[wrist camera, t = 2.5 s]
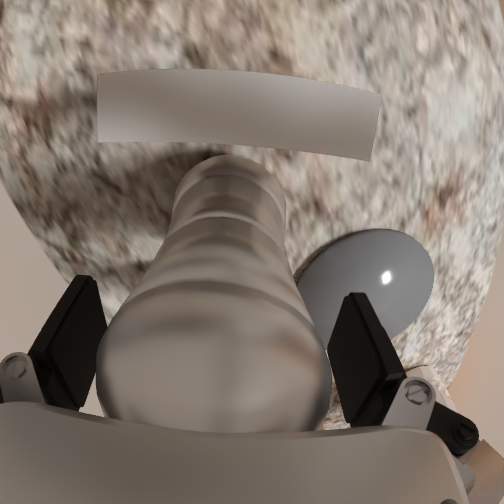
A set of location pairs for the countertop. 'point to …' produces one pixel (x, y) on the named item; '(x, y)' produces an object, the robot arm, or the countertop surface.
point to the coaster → (369, 279)
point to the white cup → (434, 384)
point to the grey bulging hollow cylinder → (218, 318)
